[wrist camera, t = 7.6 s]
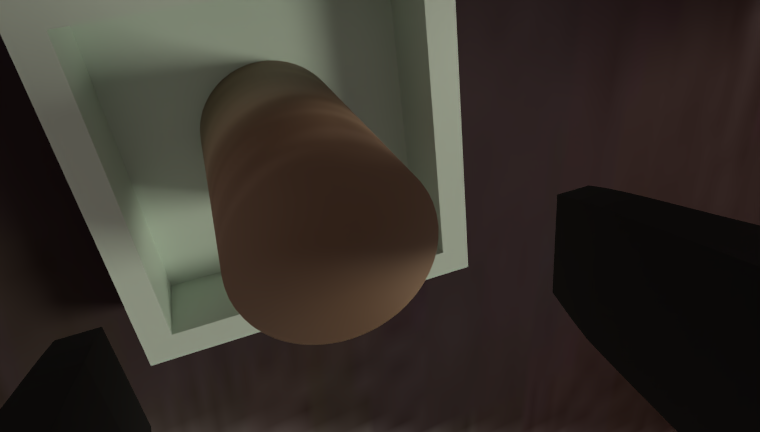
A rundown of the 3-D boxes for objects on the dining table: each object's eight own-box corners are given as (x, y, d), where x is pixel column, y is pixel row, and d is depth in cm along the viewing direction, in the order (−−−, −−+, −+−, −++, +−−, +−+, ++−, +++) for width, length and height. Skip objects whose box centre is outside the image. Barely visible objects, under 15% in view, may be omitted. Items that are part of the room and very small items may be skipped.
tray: (403, -79, 15) (451, -80, 12) (429, 222, 20) (467, 266, 17) (18, -21, 13) (-19, -7, 10) (152, 302, 18) (151, 365, 15)
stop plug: (329, 47, 15) (431, 125, 9) (350, 177, 17) (444, 308, 11) (181, 77, 14) (190, 183, 8) (221, 210, 16) (251, 371, 10)
